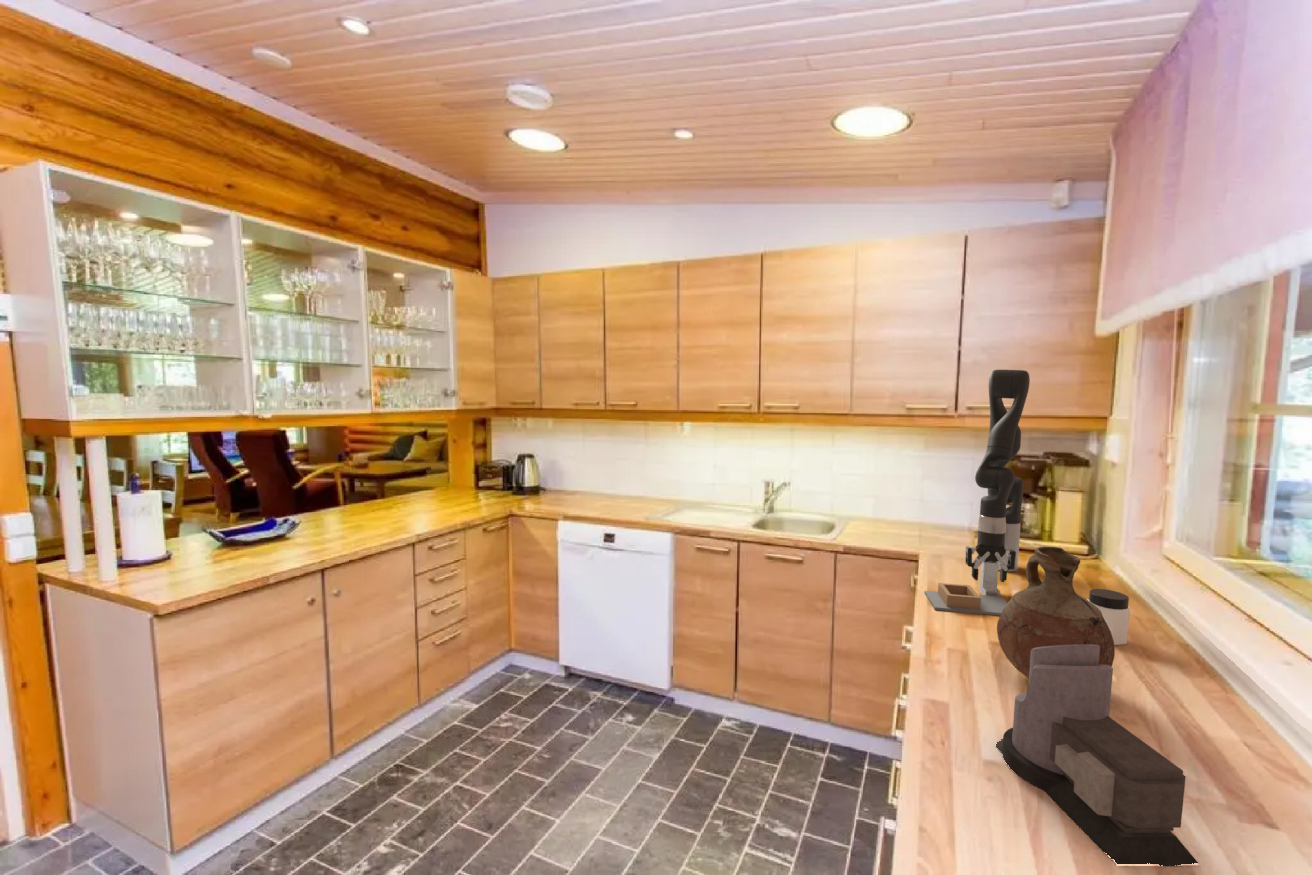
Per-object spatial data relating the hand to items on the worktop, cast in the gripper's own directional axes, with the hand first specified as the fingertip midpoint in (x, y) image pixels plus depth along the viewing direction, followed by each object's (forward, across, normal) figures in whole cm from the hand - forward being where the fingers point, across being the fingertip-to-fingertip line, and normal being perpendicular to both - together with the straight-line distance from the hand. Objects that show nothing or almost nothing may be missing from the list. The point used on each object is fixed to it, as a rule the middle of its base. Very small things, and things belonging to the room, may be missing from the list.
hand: (988, 580), depth 185 cm
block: (+4, 0, +2) cm, 4 cm away
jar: (+4, -19, +30) cm, 36 cm away
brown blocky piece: (+4, +15, +97) cm, 98 cm away
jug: (+4, +5, +59) cm, 59 cm away
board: (+4, +9, +13) cm, 16 cm away
